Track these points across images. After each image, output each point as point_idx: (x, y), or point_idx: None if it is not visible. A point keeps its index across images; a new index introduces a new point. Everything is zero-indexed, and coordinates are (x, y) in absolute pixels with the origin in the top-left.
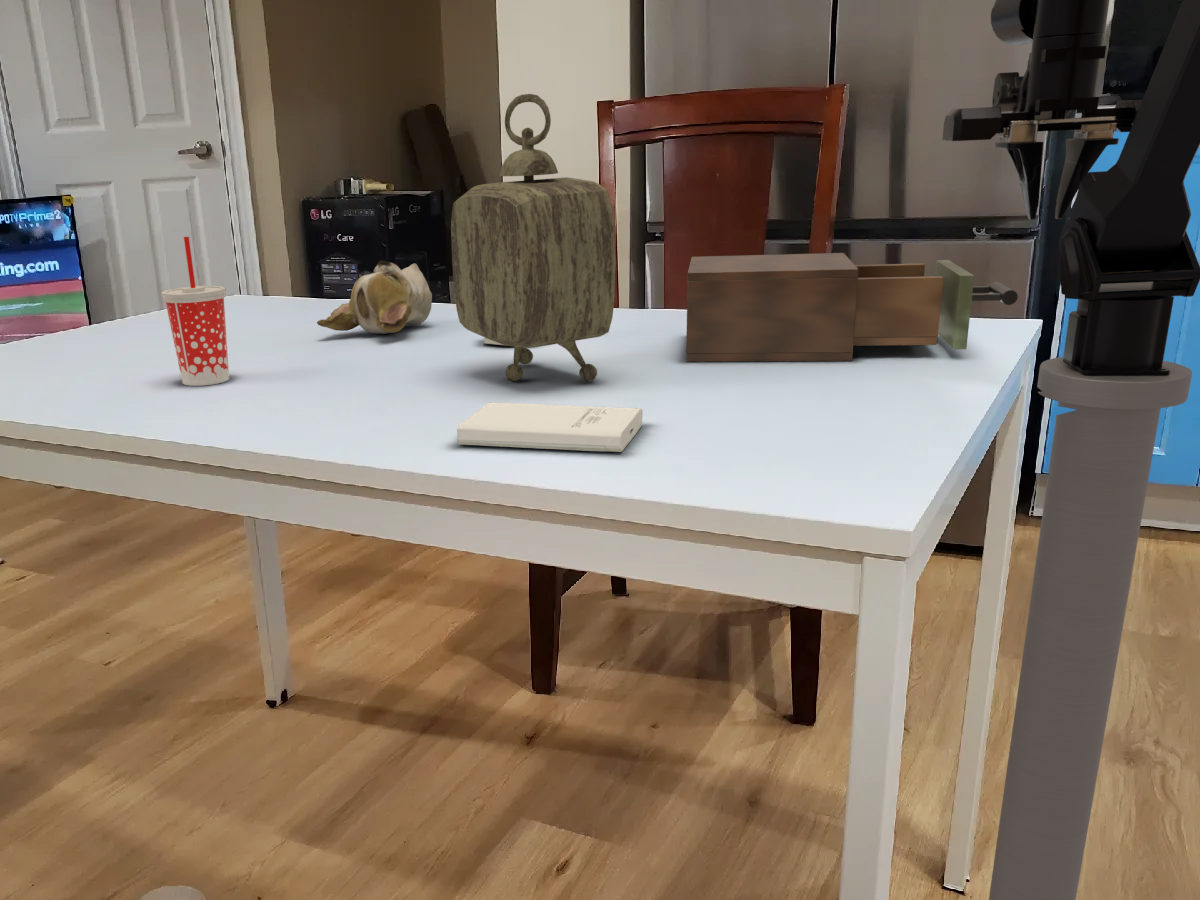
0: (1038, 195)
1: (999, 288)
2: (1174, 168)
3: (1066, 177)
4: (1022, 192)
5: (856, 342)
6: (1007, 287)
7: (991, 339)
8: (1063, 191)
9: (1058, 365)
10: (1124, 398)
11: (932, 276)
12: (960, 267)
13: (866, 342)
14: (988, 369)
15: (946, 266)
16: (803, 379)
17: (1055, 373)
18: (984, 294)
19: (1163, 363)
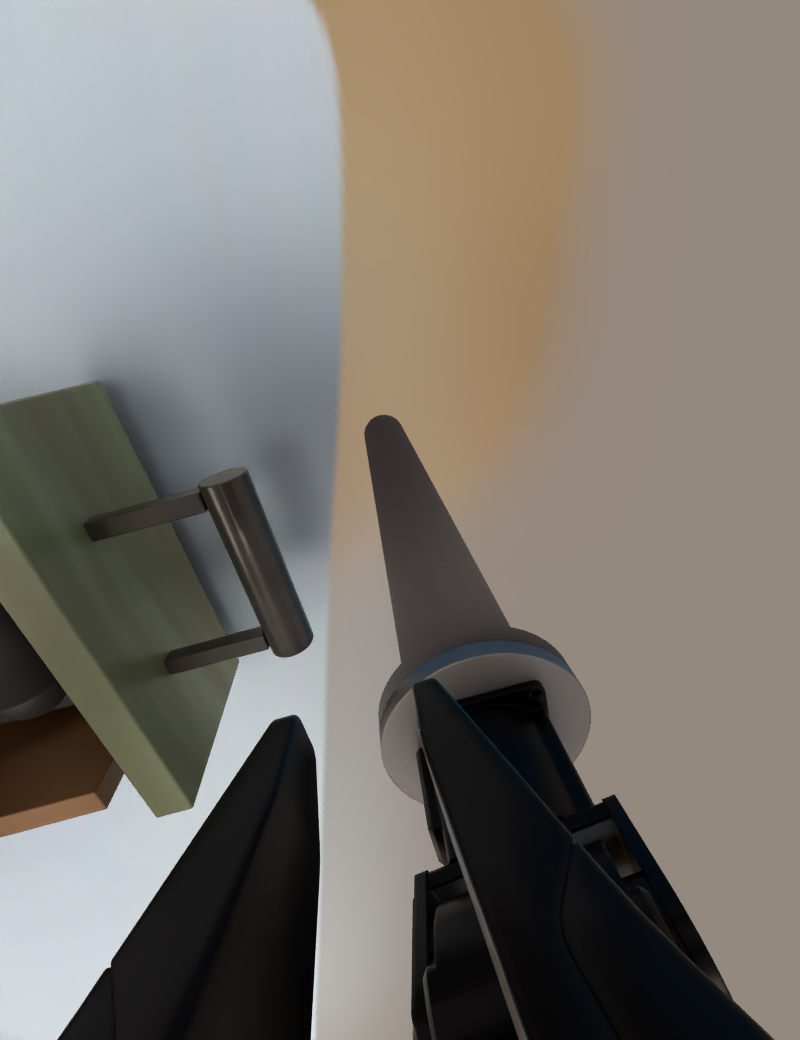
0: (311, 934)
1: (250, 595)
2: None
3: (508, 1001)
4: (175, 875)
5: None
6: (274, 608)
7: (257, 407)
8: (467, 886)
9: (408, 746)
10: None
11: (68, 803)
12: (92, 662)
13: None
14: (298, 711)
15: (26, 637)
16: (30, 842)
17: (402, 791)
18: (223, 658)
19: (564, 695)
